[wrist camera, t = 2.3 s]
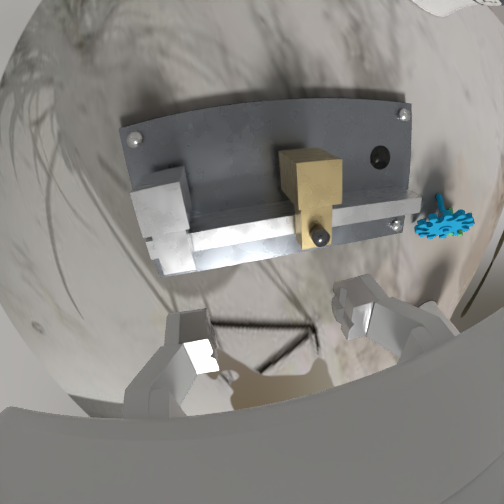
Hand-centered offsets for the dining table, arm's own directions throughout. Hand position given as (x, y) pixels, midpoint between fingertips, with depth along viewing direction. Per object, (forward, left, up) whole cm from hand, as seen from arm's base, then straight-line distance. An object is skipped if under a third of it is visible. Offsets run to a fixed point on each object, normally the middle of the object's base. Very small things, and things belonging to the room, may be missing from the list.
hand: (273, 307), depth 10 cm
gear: (+10, +30, -21) cm, 38 cm away
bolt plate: (+2, +7, -21) cm, 22 cm away
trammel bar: (+2, +7, -20) cm, 21 cm away
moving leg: (+2, +7, -20) cm, 21 cm away
